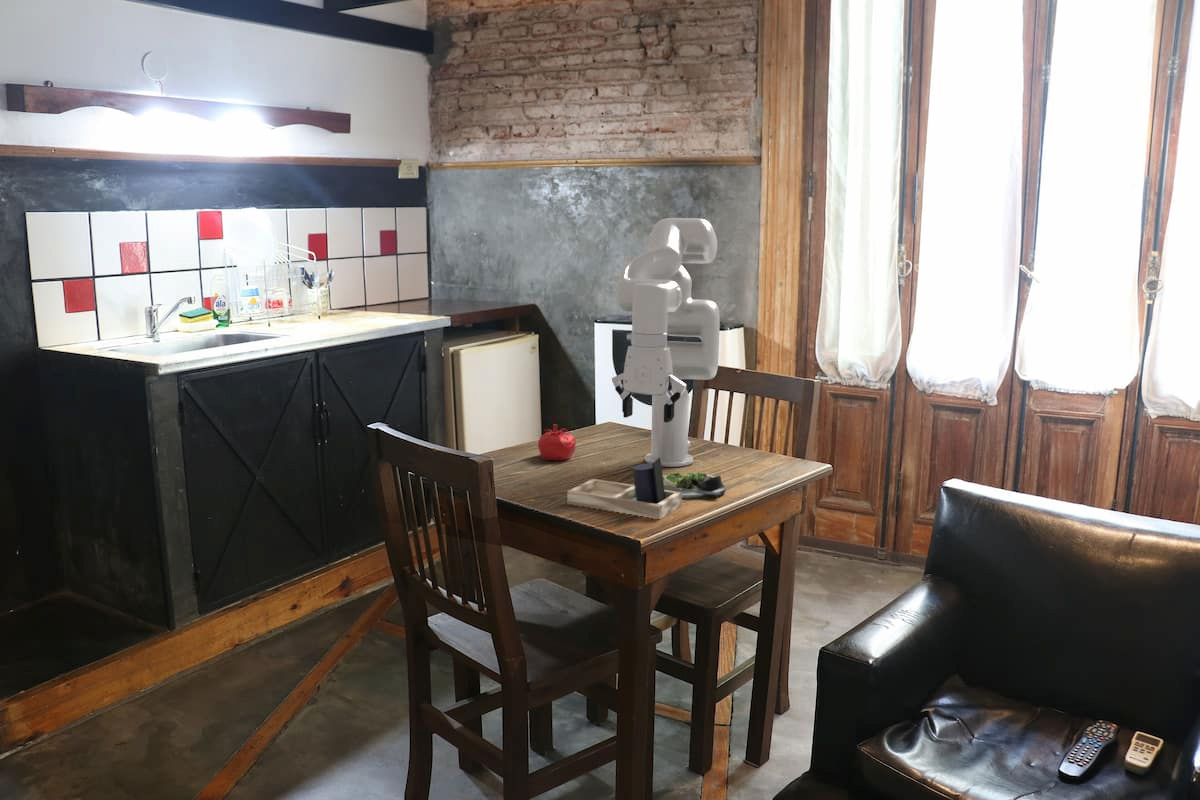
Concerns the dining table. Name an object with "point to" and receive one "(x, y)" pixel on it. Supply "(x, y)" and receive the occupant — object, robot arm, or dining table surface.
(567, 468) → the dining table surface
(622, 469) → the dining table surface
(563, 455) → the pomegranate
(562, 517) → the dining table surface
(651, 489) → the speaker
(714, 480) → the avocado toast plate
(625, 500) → the sorting tray
